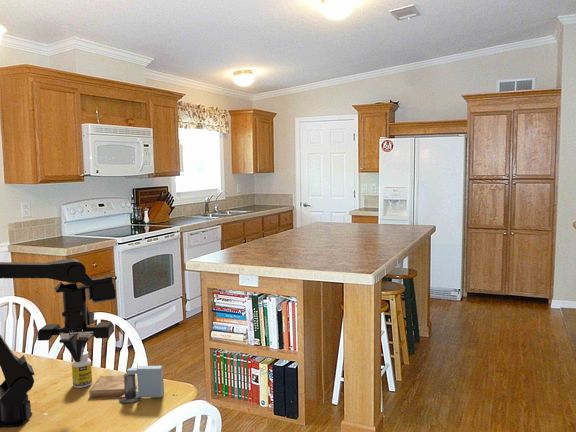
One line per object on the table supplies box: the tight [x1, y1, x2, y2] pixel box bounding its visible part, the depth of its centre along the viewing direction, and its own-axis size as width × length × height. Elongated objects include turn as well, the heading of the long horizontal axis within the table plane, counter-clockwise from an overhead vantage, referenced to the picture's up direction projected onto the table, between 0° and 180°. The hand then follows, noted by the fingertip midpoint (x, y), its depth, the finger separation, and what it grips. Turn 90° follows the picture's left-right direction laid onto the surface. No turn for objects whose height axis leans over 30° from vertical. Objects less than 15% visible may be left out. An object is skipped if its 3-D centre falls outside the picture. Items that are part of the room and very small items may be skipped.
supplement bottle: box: [71, 350, 93, 389], centre depth 150 cm, size 5×5×10 cm
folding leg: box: [126, 365, 164, 398], centre depth 140 cm, size 9×2×8 cm, turn 89°
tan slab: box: [88, 372, 143, 404], centre depth 144 cm, size 15×15×7 cm
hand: (78, 361), depth 137 cm, fingers closed
